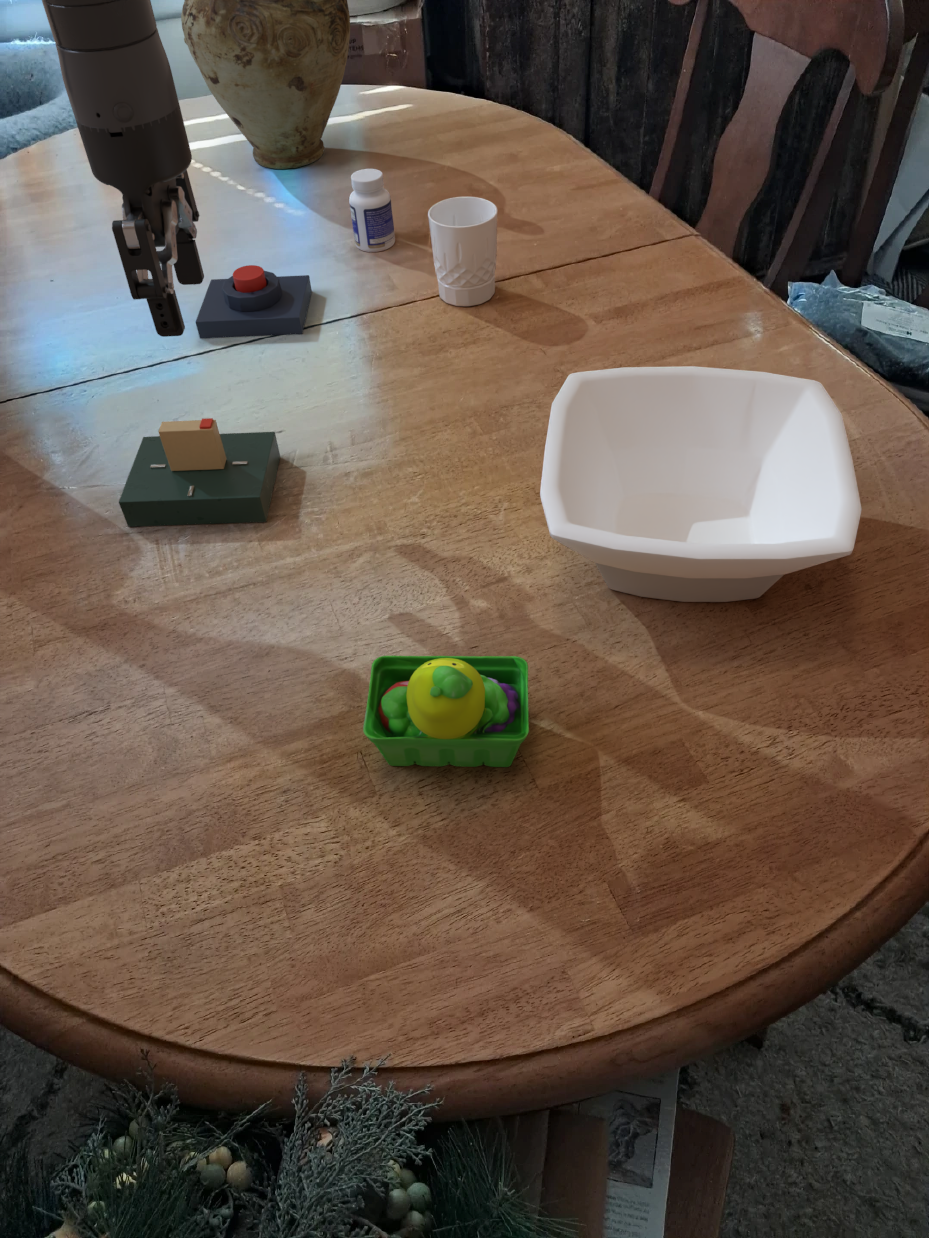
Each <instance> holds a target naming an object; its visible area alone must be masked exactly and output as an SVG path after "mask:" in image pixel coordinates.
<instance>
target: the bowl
mask: <svg viewBox="0 0 929 1238" xmlns="http://www.w3.org/2000/svg"><path fill="white" fill-rule="evenodd" d="M548 419H549V420H548V424H547V425H548V426H547V432H546V439H545V446H544V454H543V463H542V472H541V481H540V489H539V497H540V501H541V505H542V510H543V513H544V517H545V520H546V525H547V529H548V533H549V536H550V538H551V539H552V540H554V541H556V542H557V543H560V544H561V545H563V546H565V547H566V548H568V549H570V550H571V551H573V552H574V553H577V554H578V555H580V556H582V557H583V558H586V559H587V560H589V561H590V562H592V563H594V564H595V566H596V568H597V570H598V571H599V574H600V575H601V577H602V579H603V581H604V583H605V584H606V586H607V588H608V589H610V590H612V591H616V592H621V593H624V594H627V595H628V594H629V595H633V596H637V597H642V598H649V599H657V600H664V601H675V602H680V603H681V602H683V603H729V602H736V601H746V600H755V599H758V598H761V596H763V595H764V594H765V593H766V592H767V591H768V590H769V589H770V588H772V586H774V584H776V583H777V582H778V581H779V580H780V579H781V578H782V577H784V575H788V574H791V573H794V572H798V571H801V570H805V569H808V568H810V567H814V566H817V565H822V564H824V563H827V562H830V561H834V560H837V559H841V558H843V557H847V556H850V555H852V553H853V550H854V548H855V544H856V539H857V534H858V530H859V525H860V519H861V514H862V509H863V508H862V503H861V497H860V491H859V488H858V482H857V476H856V471H855V467H854V461H853V456H852V451H851V447H850V443H849V439H848V434H847V431H846V427H845V422H844V418H843V414H842V413H841V411H840V409H839V408H838V406H837V405H836V403H835V402H834V400H833V399H832V397H831V395H830V394H829V393H828V391H827V390H826V388H825V386H824V385H823V384H822V383H821V382H820V381H818V380H816V379H815V380H814V379H808V378H803V377H796V376H792V375H791V376H790V375H785V374H778V373H773V372H768V371H767V372H766V371H757V370H746V369H745V370H744V369H732V368H720V367H708V366H707V367H706V366H694V365H689V366H688V365H687V366H685V365H684V366H683V365H682V366H681V365H680V366H631V367H630V366H627V367H626V366H625V367H615V368H606V369H596V370H587V371H577V372H572V373H570V374H568V375H567V377H566V379H565V380H564V382H563V384H562V385H561V387H560V389H559V391H558V393H557V394H556V396H555V397H554V399H553V401H552V402H551V407H550V413H549V418H548Z"/></svg>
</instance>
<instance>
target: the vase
mask: <svg viewBox="0 0 929 1238" xmlns="http://www.w3.org/2000/svg"><path fill="white" fill-rule="evenodd" d="M180 20H181V28H182V29H181V30H182V32H183V36H184V38H183V41H184V44H185V45H186V46H187V48H188V51H189V54H190V55H191V57H192V59H193V61H194V63H195V65H196V66H197V68H198V69H199V72H200V74H201V76H202V79H203V80H204V82H205V85H206V86H207V88H208V91H210V93H211V95H212V96H213V97H214V99H215V100H216V102H217V103H218V105H219V106H220V107H221V109H222V110H223V111H224V113H225V114H226V115H227V117H228V118H229V119H230V120H231V121H232V123H233V124H234V125H235V126H236V127H237V129H238V130H239V131H240V133H241V134H242V135H243V136H244V138H245V139H246V140H247V141H248V143H249V144H250V145H251V146H252V148H253V149H252V157H253V159H254V161H255V163H257V164H258V165H259V166H262V167H264V168H267V169H273V170H274V169H276V170H287V169H296V168H301V167H304V166H307V165H310V164H312V163H314V162H316V161H318V160H320V159H321V158H322V156H323V155H324V153H325V145H324V142H323V139H322V138H323V135H324V133H325V130H326V127H327V125H328V123H329V121H330V120H329V119H330V116H331V114H332V111H333V109H334V106H335V104H336V101H337V98H338V96H339V93H340V90H341V87H342V82H343V78H344V75H345V70H346V67H347V66H346V65H347V61H348V55H349V49H350V38H351V16H350V10H349V3H348V0H184V1H183V5H182V9H181V15H180Z"/></svg>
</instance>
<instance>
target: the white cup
mask: <svg viewBox="0 0 929 1238" xmlns="http://www.w3.org/2000/svg"><path fill="white" fill-rule="evenodd" d="M427 219H428V227H429V233H430V243H431V250H432V258H433V265H434V272H435V276H436V280H437V287H438V294H439V299H441V300H442V301H443V302H444V303H446V304H449V305H452V306H454V307H455V306H456V307H473V306H477V305H482V304H484V303H486V302H488V301H490V300H491V299H492V297H493V296H494V294H495V293H496V269H497V252H498V251H497V250H498V207H497V205H496V204H495V203H494V202H492V201H491V200H488V199H486V198H483V197H477V196H456V197H455V196H454V197H450V198H445V199H443V200H440V201H438V202H436V203H434V204H433V205H432V206H431V207H430V208H429V209H428V211H427Z"/></svg>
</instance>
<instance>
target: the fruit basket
mask: <svg viewBox="0 0 929 1238" xmlns="http://www.w3.org/2000/svg"><path fill="white" fill-rule="evenodd" d="M370 668H371V670H370V678H369V684H368V693H367V701H366V707H365V714H364V720H363V727H362V731H363V734H364V736H365V737H366V738H367V739H368V740H369V741H370V742H371V743H373V744H374V746H375V747H376V748H377V750H378V751H379V753H380V755H382V757H383V758H384V760H385V761H386V763H387V764H388V765H389V766H390V767H409V766H413V765H417V766H421V767H445V766H449V765H450V766H454V767H461V768H462V767H463V768H464V767H470V768H472V767H473V768H476V767H481V766H483V765H484V766H486V767H490V768H508V767H511V765H512V763H514V759H515V757H516V755H517V753H518V752H519V749H520V747H521V744H522V743H524V741H525V740H526V738H527V736H528V734H529V731H530V725H529V723H530V722H529V665H528V661H526V659H524V658H523V657H520V656H516V655H498V656H497V655H483V656H482V655H481V656H479V655H477V656H476V655H465V656H464V655H381V656H378V657H376V658H375V659H374V660H373V662H372V663H371V667H370Z"/></svg>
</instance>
